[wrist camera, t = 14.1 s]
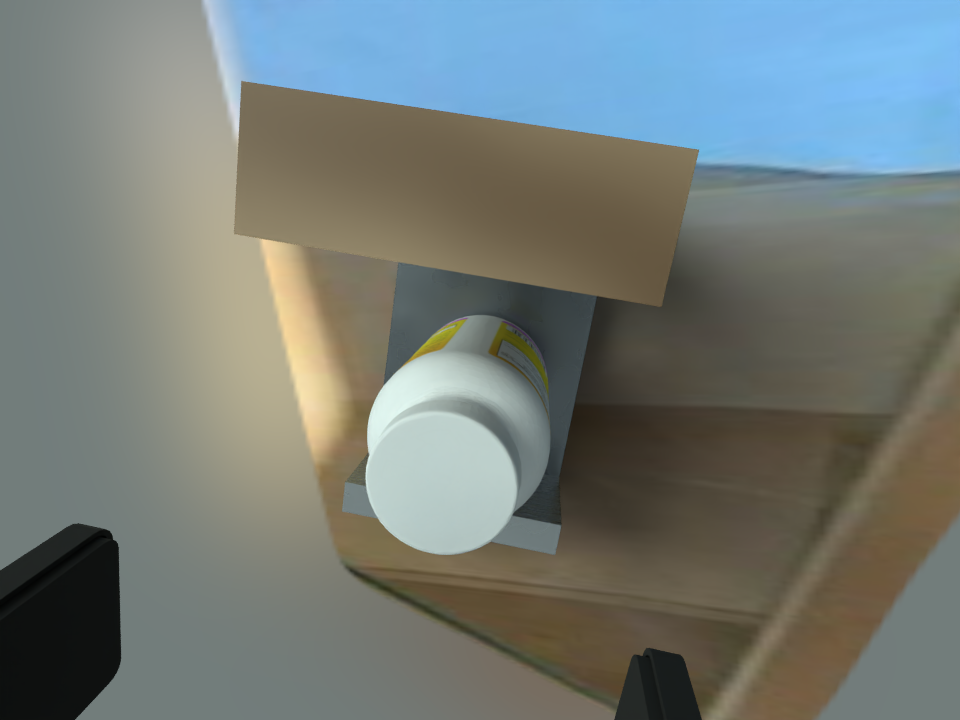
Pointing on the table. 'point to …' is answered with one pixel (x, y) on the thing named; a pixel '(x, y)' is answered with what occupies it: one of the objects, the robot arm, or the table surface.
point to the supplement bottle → (459, 436)
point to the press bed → (554, 329)
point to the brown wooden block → (461, 192)
